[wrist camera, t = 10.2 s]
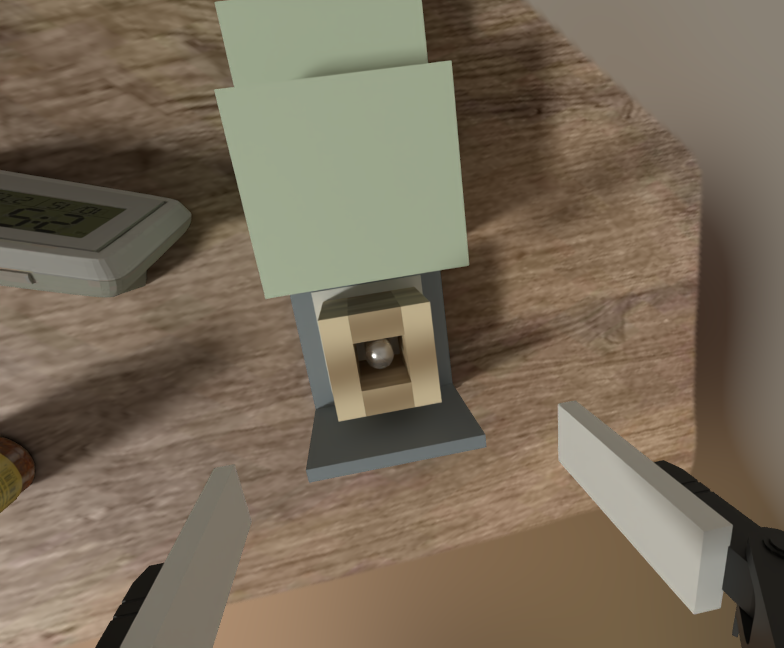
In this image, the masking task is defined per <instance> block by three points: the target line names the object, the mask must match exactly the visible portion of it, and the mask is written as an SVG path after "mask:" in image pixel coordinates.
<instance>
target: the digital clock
mask: <svg viewBox="0 0 784 648" xmlns="http://www.w3.org/2000/svg"><path fill="white" fill-rule="evenodd" d="M190 223H191V213H190V211H189V210H187V209H186V208H185V207H184V206H183V205H182V204H181V203H180V202H179V201H177V200H174V199H170V198H165V197H159V196H154V195H148V194H142V193H136V192H130V191H124V190H118V189H112V188H106V187H100V186H94V185H88V184H82V183H75V182H69V181H63V180H57V179H51V178H45V177H39V176H33V175H27V174H21V173H15V172H9V171H3V170H0V285H1V286H9V287H17V288H26V289H34V290H42V291H50V292H58V293H66V294H75V295H84V296H94V297H114V296H117V295H119V294H122V293H125V292H128V291H131V290H134V289H137V288H140V287H143V286H145V285H146V270H147V269H148V268H149V267H150V266H151V265H152V264H153V263H155V262H156V261H157V260H158V259H159V258H160V257H161V256H162V255H163V254H164V253H165V252H166V251H167V250H168V249H169V248H170V247H171V246H172V245H173V244H174V243H175V242H176V241H177V240H178V239H179V238H180V237H181V236H182V235H183V234H184V233H185V232H186V230H187V229H188V227H189V226H190Z"/></svg>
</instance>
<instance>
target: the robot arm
mask: <svg viewBox="0 0 784 648" xmlns="http://www.w3.org/2000/svg"><path fill="white" fill-rule="evenodd" d="M558 453H559V462H560V463H561V464H562V465H563V466H564V467H565V468H566V470H567V471H568V472H569V473H570V474H571V475H572V476H573V478H574V479H575V480H576V481H577V482H578V483H579V484H580V485H581V487H582V488H583V489H584V490H585V491H586V492H587V493H588V495H589V496H590V497H591V498H592V499H593V500H594V501H595V503H596V504H597V505H598V506H599V507H600V508H601V509H602V510H603V512H604V513H605V514H606V515H607V516H608V517H609V518H610V520H611V521H612V522H613V523H614V524H615V525H616V526H617V527H618V529H619V530H620V531H621V532H622V533H623V534H624V535H625V536H626V538H627V539H628V540H629V541H630V542H631V543H632V545H633V546H634V547H635V548H636V549H637V550H638V551H639V553H640V554H641V555H642V556H643V557H644V558H645V559H646V560H647V562H648V563H649V564H650V565H651V566H652V567H653V568H654V569H655V571H656V572H657V573H658V574H659V575H660V576H661V578H662V579H663V580H664V581H665V582H666V583H667V584H668V585H669V587H670V588H671V589H672V590H673V591H674V592H675V593H676V595H677V596H678V597H679V598H680V599H681V600H682V601H683V602H684V604H685V605H686V606H687V607H688V608H689V609H690V610H691V612H692V613H693V614H698V613H702V612H706V611H710V610H715V609H718V608H721V601H722V595H723V591H724V592H725V593H726V594H727V595H728V596H729V597H730V598H732V600H733V601H735V602H736V603H737V607H736V613H735V619H734V625H733V632H732V635H733V636H735V637H738V634H739V635H740V641H741V647H742V648H784V531H782V530H778V529H773V528H767V527H760V526H758V525H757V524H756V523H754V522H753V521H752V520H750V519H749V518H748V517H746V516H745V515H743V514H742V513H741V512H739V511H738V510H737V509H736V508H734V507H733V506H732V505H730V504H729V503H728V502H726V501H725V500H723V499H722V498H721V497H719V496H718V495H717V494H715V493H714V492H711V491H710V489H709V488H707V487H706V486H705V485H703V484H702V483H701V482H698V481H697V479H695V478H694V477H692V476H691V475H690V474H688V473H687V472H686V471H684V470H683V469H681V468H679V467H677V466H675V465H673V464H671V463H668V462H666V461H664V460H662V461H657V462H652V461H651V460H650V459H649V458H647V457H646V456H645V455H644V454H642V453H641V452H640V451H639V450H637V449H636V448H635V447H634V446H632V445H631V444H630V443H628V442H627V441H626V440H625V439H623V438H622V437H621V436H620V435H618V434H617V433H616V432H615V431H613V430H612V429H611V428H610V427H608V426H607V425H606V424H604V423H603V422H602V421H601V420H599V419H598V418H597V417H596V416H594V415H593V414H592V413H591V412H589V411H588V410H587V409H586V408H584V407H583V406H582V405H580V404H579V403H578V402H577V401H571V402H565V403H560V404H558ZM251 522H252V521H251V517H250V514H249V511H248V507H247V504H246V501H245V497H244V494H243V491H242V487H241V484H240V481H239V477H238V474H237V470H236V467H235V464H233V465H228V466H223V467H217V468H214V470H213V472H212V474H211V475H210V477H209V479H208V481H207V483H206V485H205V487H204V489H203V491H202V493H201V494H200V496H199V498H198V500H197V502H196V504H195V506H194V508H193V510H192V511H191V513H190V515H189V517H188V519H187V521H186V523H185V525H184V527H183V529H182V530H181V532H180V534H179V536H178V538H177V540H176V542H175V544H174V546H173V547H172V549H171V551H170V553H169V555H168V557H167V559H166V561H165V563H161V564H156V565H151V566H149V567H148V568H147V569H146V570H145V571H144V572H143V573H142V574H141V575H140V576H139V577H138V578H137V579H136V580H135V581H134V582H133V584H132V585H131V587H130V589H129V591H128V592H127V594H126V596H125V597H124V599H123V601H122V605H120V606H119V608H118V609H117V611H116V613H115V614H114V616H113V620H112V621H110V623H109V625H108V626H107V628H106V630H105V632H104V633H103V635H102V637H101V638H100V640H99V642H98V644H97V645H96V647H95V648H213V644H214V641H215V638H216V635H217V632H218V628H219V625H220V622H221V619H222V616H223V612H224V609H225V606H226V603H227V599H228V596H229V593H230V590H231V587H232V583H233V580H234V577H235V574H236V571H237V567H238V564H239V561H240V558H241V554H242V551H243V548H244V545H245V542H246V538H247V535H248V532H249V529H250V525H251Z"/></svg>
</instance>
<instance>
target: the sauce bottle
mask: <svg viewBox="0 0 784 648" xmlns="http://www.w3.org/2000/svg"><path fill="white" fill-rule="evenodd" d="M34 466H35V464H34V461H33V459H32V457H31V456H30V454H29V452H28V451H27V450H26V449H24V448H23V447H21V445H19V444H17V443H15V442H13V441H12V440H9V439H7V438H4V437H0V513H1V512H2V511H3V510H4V509H5V508H7V507H8V506H9V505H10V504H11V503H13V502H14V501H15V500H16V499H17V497H18V496H19V494H20V493H21V492H23V491H24V490H25V489H26V488H28V487H29V485H30V484H31V483H32V481H33V479H34V476H35V469H34Z"/></svg>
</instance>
